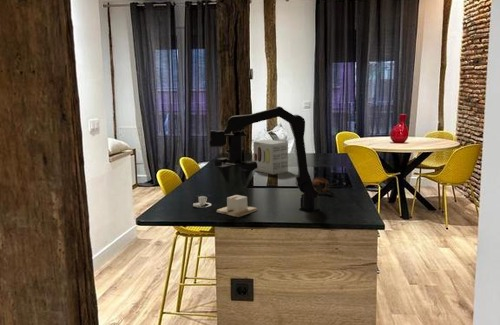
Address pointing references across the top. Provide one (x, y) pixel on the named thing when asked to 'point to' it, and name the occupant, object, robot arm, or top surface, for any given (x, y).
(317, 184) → the pottery mug
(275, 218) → the top surface
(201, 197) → the white ring with cylinder
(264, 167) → the supplement box
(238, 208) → the small white box
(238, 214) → the board
